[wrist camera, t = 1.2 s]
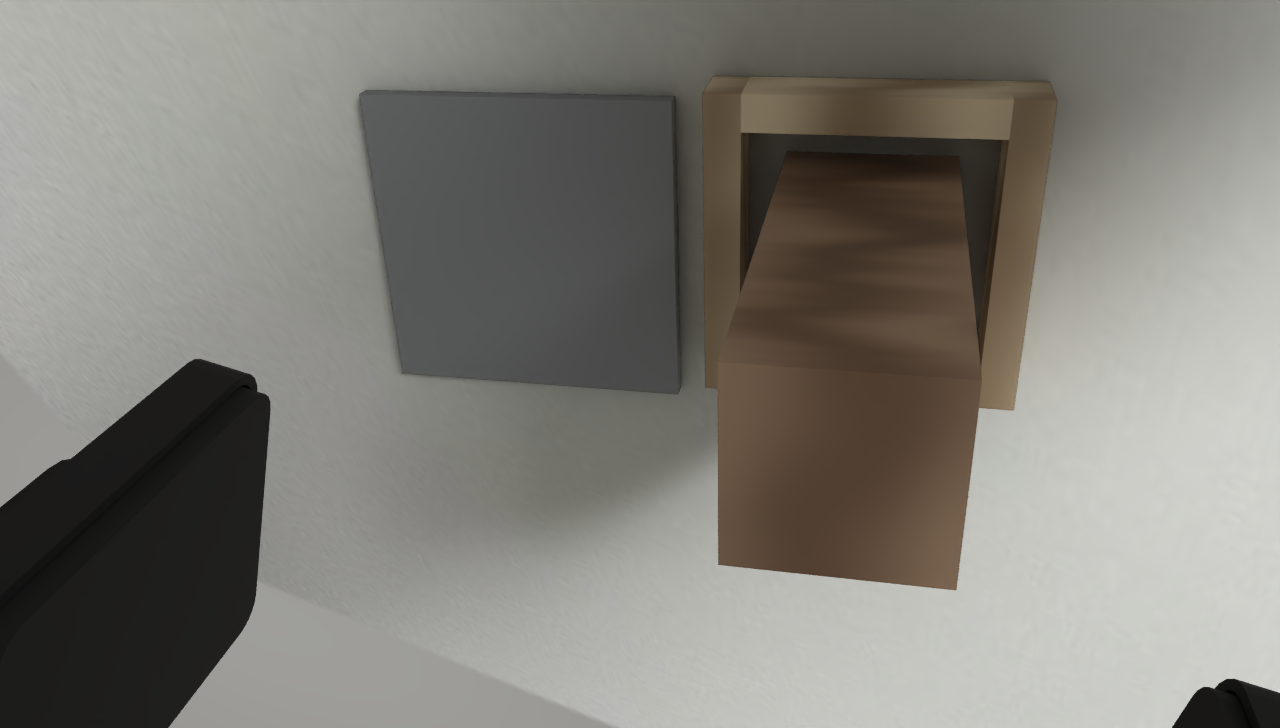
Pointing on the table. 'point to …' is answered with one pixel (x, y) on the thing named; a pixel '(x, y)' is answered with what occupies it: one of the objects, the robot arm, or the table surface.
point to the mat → (530, 235)
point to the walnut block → (852, 375)
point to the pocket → (889, 112)
